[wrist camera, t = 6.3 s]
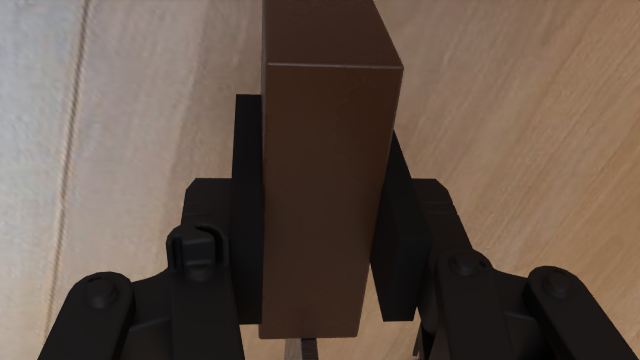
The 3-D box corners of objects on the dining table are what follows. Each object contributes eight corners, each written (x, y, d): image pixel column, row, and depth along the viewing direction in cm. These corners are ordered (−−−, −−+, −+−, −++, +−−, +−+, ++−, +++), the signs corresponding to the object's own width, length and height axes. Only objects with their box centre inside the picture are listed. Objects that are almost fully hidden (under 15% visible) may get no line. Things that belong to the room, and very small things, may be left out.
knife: (262, -16, 16) (265, 88, 11) (369, -11, 17) (417, 92, 12) (254, 439, 30) (253, 578, 25) (312, 436, 30) (324, 573, 25)
